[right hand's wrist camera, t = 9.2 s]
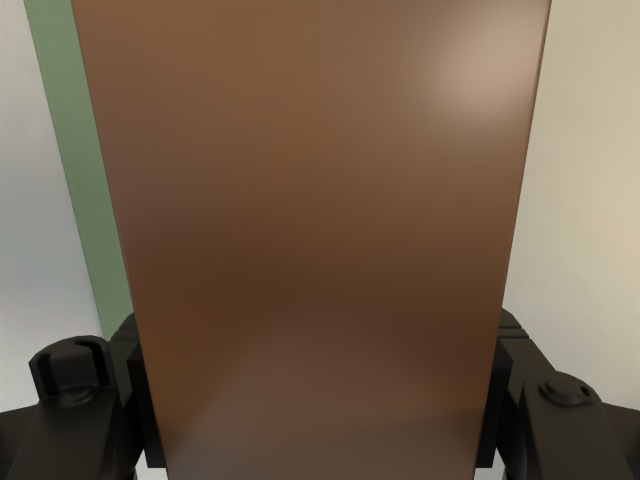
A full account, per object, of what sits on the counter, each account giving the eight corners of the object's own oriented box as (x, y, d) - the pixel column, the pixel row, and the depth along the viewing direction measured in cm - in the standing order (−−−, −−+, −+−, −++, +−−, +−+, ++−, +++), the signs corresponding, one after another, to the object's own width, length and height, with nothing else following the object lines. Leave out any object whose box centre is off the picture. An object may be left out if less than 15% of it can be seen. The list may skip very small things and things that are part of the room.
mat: (281, -277, 19) (280, -284, 19) (305, 385, 32) (305, 388, 32) (-36, -268, 19) (-43, -275, 19) (118, 386, 33) (116, 390, 32)
